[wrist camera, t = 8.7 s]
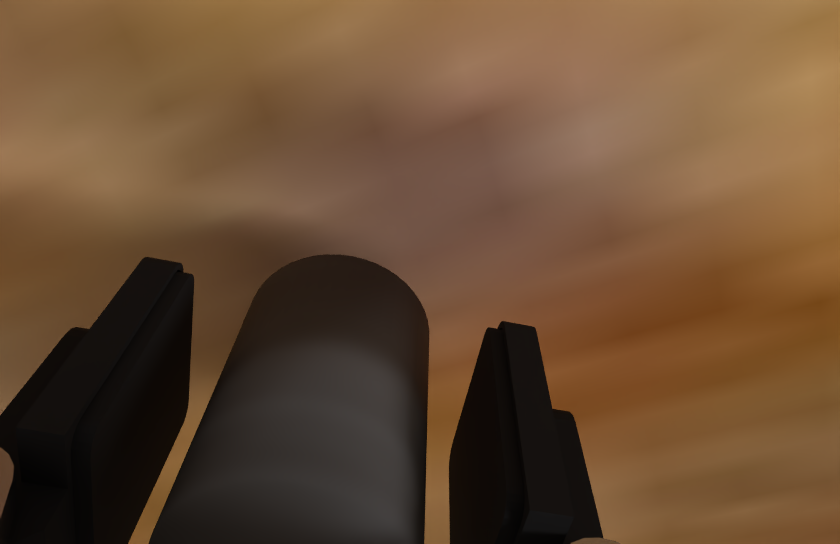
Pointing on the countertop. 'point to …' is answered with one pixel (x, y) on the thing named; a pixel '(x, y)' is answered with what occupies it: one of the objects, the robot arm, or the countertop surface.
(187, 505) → the brown block with stick
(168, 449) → the robot arm
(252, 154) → the countertop surface
